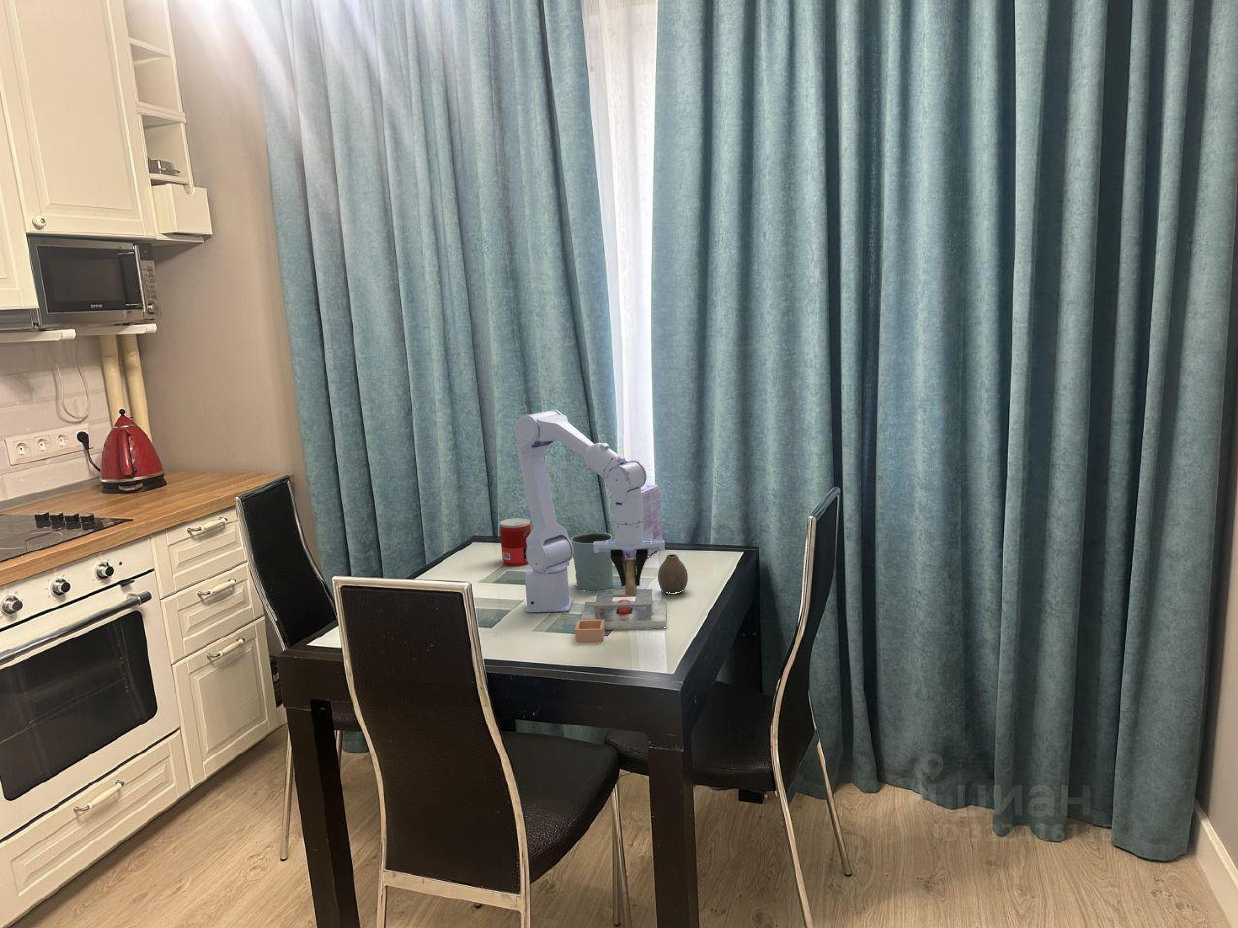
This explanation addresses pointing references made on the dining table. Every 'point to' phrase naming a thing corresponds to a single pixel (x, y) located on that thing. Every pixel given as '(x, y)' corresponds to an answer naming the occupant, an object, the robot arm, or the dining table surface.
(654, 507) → the cake pan box
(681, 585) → the vase
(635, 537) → the robot arm
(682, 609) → the dining table surface
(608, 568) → the green cylindrical pot
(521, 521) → the canned food
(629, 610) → the button
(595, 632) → the holder
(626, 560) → the stylus
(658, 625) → the grey fixture board
